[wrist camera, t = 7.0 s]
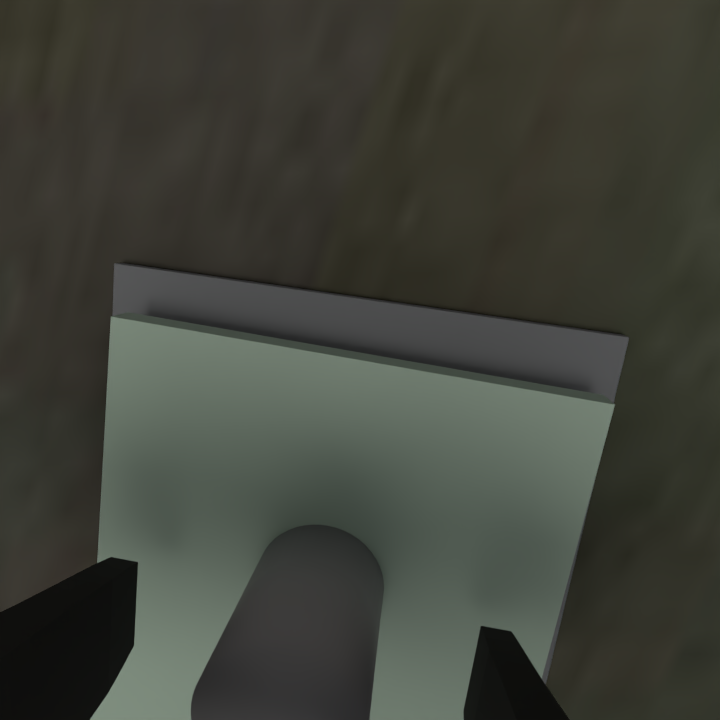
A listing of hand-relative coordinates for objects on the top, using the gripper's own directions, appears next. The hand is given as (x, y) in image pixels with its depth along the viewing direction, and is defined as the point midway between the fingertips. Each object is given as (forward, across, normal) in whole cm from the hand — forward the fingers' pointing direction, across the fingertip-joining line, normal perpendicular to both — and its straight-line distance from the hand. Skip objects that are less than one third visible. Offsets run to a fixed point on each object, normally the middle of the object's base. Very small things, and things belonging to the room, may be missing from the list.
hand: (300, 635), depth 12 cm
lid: (+4, 0, 0) cm, 4 cm away
